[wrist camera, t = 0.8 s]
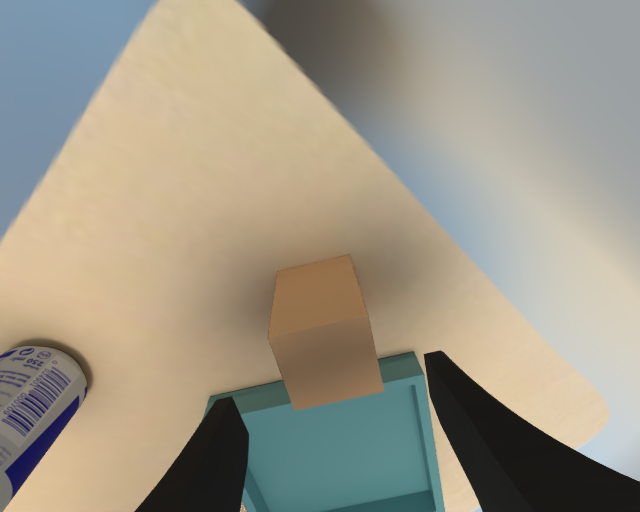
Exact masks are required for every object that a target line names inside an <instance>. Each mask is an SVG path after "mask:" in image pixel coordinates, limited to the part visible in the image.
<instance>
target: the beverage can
mask: <svg viewBox="0 0 640 512" xmlns="http://www.w3.org/2000/svg"><path fill="white" fill-rule="evenodd" d="M86 393H87V381H86V378H85V376H84V374H83V372H82V369H81V367H80V366H79V364H78V363H77V362H76V361H75V360H74V359H73V358H72V357H71V356H69V355H68V354H66V353H64V352H62V351H60V350H57V349H54V348H50V347H39V346H23V347H18V348H14V349H11V350H9V351H7V352H5V353H4V354H2V355H1V356H0V512H3V510H4V509H5V508H6V506H7V505H8V504H9V502H10V501H11V500H12V498H13V497H14V496H15V494H16V493H17V491H18V490H19V489H20V487H21V486H22V485H23V483H24V482H25V481H26V479H27V478H28V476H29V475H30V474H31V472H32V471H33V470H34V468H35V467H36V466H37V464H38V463H39V462H40V460H41V459H42V457H43V456H44V455H45V453H46V452H47V451H48V449H49V448H50V447H51V445H52V444H53V442H54V441H55V440H56V438H57V437H58V436H59V434H60V433H61V432H62V430H63V429H64V428H65V426H66V425H67V423H68V422H69V421H70V419H71V418H72V417H73V415H74V414H75V413H76V411H77V410H78V408H79V407H80V405H81V404H82V402H83V401H84V399H85V397H86Z"/></svg>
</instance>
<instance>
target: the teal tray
mask: <svg viewBox="0 0 640 512" xmlns="http://www.w3.org/2000/svg"><path fill="white" fill-rule="evenodd" d="M378 364H379V369H380V373H381V378H382V383H383V387H384V392H380V393H375V394H371V395H366V396H361V397H357V398H352V399H347V400H343V401H338V402H334V403H329V404H324V405H320V406H315V407H311V408H306V409H301V410H297V411H294V408H293V406H292V403H291V400H290V397H289V395H288V392H287V389H286V386H285V383H284V381H279V382H275V383H270V384H266V385H261V386H257V387H252V388H248V389H243V390H238V391H234V392H229V393H225V394H220V395H216V396H211V397H210V398H209V401H208V404H207V407H206V411H205V414H204V417H205V416H206V414H207V413H208V411H209V410H210V408H211V407H212V405H213V404H214V402H215V401H216V400H217V399H221V398H226V397H230V396H232V397H233V399H234V402H235V404H236V406H237V408H238V410H239V413H240V415H241V417H242V419H243V422H244V424H245V426H246V428H247V430H248V433H249V453H248V465H247V472H246V478H245V484H244V490H243V495H242V502H243V504H244V506H245V508H246V510H247V512H445V508H444V501H443V495H442V488H441V482H440V475H439V468H438V462H437V455H436V449H435V442H434V436H433V429H432V423H431V416H430V409H429V403H428V396H427V390H426V383H425V377H424V373H423V371H422V369H421V366H420V364H419V362H418V360H417V357H416V355H415V353H414V352H410V353H406V354H401V355H397V356H392V357H388V358H383V359H379V360H378ZM204 417H203V419H204Z"/></svg>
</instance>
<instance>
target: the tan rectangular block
mask: <svg viewBox="0 0 640 512" xmlns="http://www.w3.org/2000/svg"><path fill="white" fill-rule="evenodd" d="M268 339H269V342H270V345H271V348H272V350H273V353H274V356H275V359H276V361H277V364H278V367H279V370H280V372H281V375H282V378H283V381H284V383H285V386H286V389H287V392H288V395H289V397H290V400H291V403H292V406H293V408H294V411H297V410H301V409H306V408H311V407H315V406H320V405H324V404H329V403H334V402H338V401H343V400H347V399H352V398H357V397H361V396H366V395H371V394H375V393H380V392H384V387H383V383H382V378H381V373H380V369H379V364H378V359H377V355H376V350H375V346H374V341H373V336H372V332H371V327H370V322H369V318H368V314H367V311H366V307H365V304H364V301H363V298H362V295H361V291H360V288H359V285H358V282H357V279H356V275H355V272H354V269H353V266H352V263H351V259H350V256H349V255H345V256H340V257H336V258H332V259H328V260H323V261H319V262H315V263H311V264H307V265H302V266H298V267H294V268H290V269H286V270H281V271H278V272H277V279H276V286H275V292H274V299H273V306H272V313H271V320H270V327H269V334H268Z"/></svg>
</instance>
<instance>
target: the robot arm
mask: <svg viewBox="0 0 640 512" xmlns="http://www.w3.org/2000/svg"><path fill="white" fill-rule="evenodd" d="M424 359H425V366H426V373H427V379H428V386H429V393H430V397H431V400H432V403H433V405H434V408H435V411H436V414H437V416H438V419H439V421H440V424H441V426H442V428H443V430H444V432H445V434H446V436H447V438H448V440H449V442H450V444H451V446H452V448H453V450H454V452H455V454H456V456H457V458H458V460H459V462H460V464H461V466H462V468H463V470H464V472H465V474H466V476H467V478H468V480H469V482H470V484H471V486H472V488H473V490H474V492H475V494H476V497H477V499H478V501H479V503H480V506H481V508H482V511H483V512H640V482H639V481H637V480H634V479H632V478H630V477H628V476H625V475H623V474H620V473H619V472H616V471H614V470H612V469H610V468H608V467H606V466H604V465H602V464H600V463H598V462H596V461H594V460H592V459H590V458H588V457H586V456H584V455H583V454H581V453H579V452H577V451H576V450H574V449H572V448H570V447H568V446H566V445H565V444H563V443H561V442H559V441H557V440H556V439H554V438H552V437H551V436H549V435H548V434H546V433H544V432H543V431H541V430H539V429H538V428H536V427H535V426H533V425H532V424H530V423H529V422H527V421H526V420H524V419H523V418H521V417H520V416H518V415H517V414H516V413H514V412H513V411H511V410H510V409H509V408H507V407H506V406H505V405H503V404H502V403H501V402H499V401H498V400H497V399H495V398H494V397H493V396H492V395H490V394H489V393H488V392H487V391H485V390H484V389H483V388H482V387H481V386H479V385H478V384H477V383H476V382H475V381H474V380H472V379H471V378H470V377H469V376H468V375H467V374H466V373H465V372H463V371H462V370H461V369H460V368H459V367H458V366H457V365H456V364H455V363H454V362H453V361H452V360H451V359H450V358H449V357H448V356H447V355H446V354H445V353H444V352H442V351H441V350H440V351H436V352H431V353H427V354H424ZM248 453H249V433H248V430H247V428H246V426H245V424H244V422H243V419H242V417H241V415H240V413H239V410H238V408H237V406H236V404H235V402H234V399H233V397H232V396H230V397H226V398H221V399H217V400H216V401H215V402H214V404H213V405H212V407H211V408H210V410H209V411H208V413H207V414H206V416H205V417H204V419H203V420H202V422H201V423H200V425H199V426H198V428H197V430H196V431H195V433H194V434H193V436H192V437H191V438H190V440H189V441H188V443H187V444H186V446H185V447H184V449H183V450H182V452H181V453H180V455H179V456H178V457H177V459H176V460H175V461H174V463H173V464H172V465H171V467H170V468H169V469H168V471H167V472H166V474H165V475H164V476H163V478H162V479H161V480H160V481H159V483H158V484H157V485H156V487H155V488H154V489H153V490H152V491H151V493H150V494H149V495H148V496H147V497H146V499H145V500H144V501H143V502H142V503H141V505H140V506H139V507H138V508H137V509H136V510H135V511H134V512H240V507H241V501H242V495H243V490H244V484H245V478H246V472H247V465H248Z"/></svg>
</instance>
